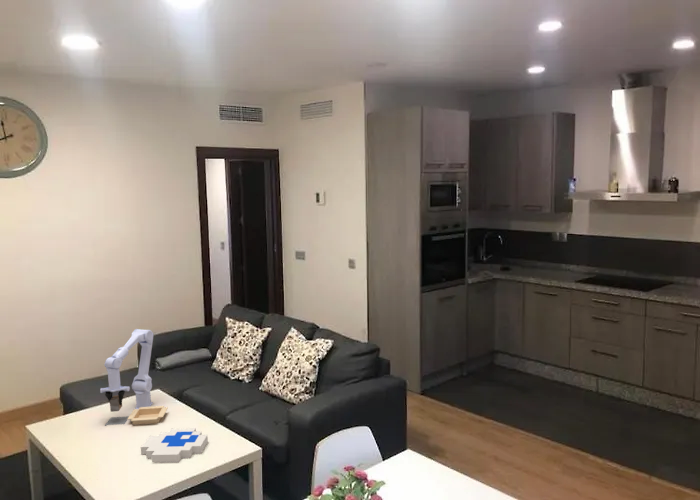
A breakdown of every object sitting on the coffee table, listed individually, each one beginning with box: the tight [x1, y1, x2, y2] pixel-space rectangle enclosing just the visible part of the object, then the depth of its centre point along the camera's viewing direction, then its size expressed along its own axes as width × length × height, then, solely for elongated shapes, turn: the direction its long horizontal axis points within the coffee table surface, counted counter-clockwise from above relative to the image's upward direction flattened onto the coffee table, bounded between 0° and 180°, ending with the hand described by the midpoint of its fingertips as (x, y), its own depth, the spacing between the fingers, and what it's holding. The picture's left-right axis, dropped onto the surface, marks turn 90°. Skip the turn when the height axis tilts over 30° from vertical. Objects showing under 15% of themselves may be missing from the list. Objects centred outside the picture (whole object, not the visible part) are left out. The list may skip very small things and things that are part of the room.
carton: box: [127, 405, 169, 425], centre depth 311 cm, size 18×18×4 cm
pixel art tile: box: [140, 427, 209, 463], centre depth 277 cm, size 28×4×28 cm
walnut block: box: [109, 394, 123, 413], centre depth 309 cm, size 7×4×6 cm, turn 6°
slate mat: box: [104, 415, 130, 427], centre depth 310 cm, size 10×10×1 cm
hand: (116, 404), depth 309 cm, fingers closed on walnut block, 4 cm apart
